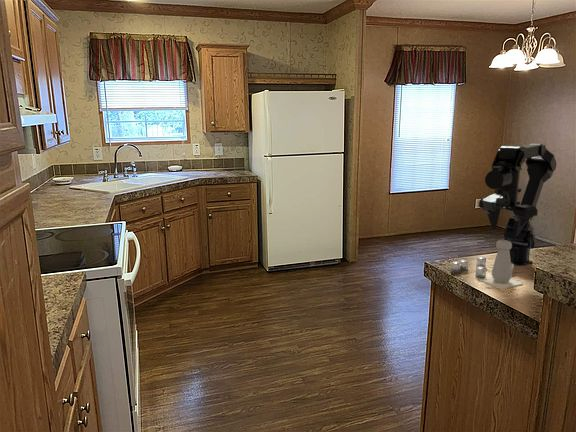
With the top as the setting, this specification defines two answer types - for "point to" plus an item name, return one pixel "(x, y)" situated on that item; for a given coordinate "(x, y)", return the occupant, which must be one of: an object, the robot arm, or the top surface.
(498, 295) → the top surface
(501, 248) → the salt shaker
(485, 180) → the robot arm
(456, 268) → the spacer posts
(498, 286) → the mat
